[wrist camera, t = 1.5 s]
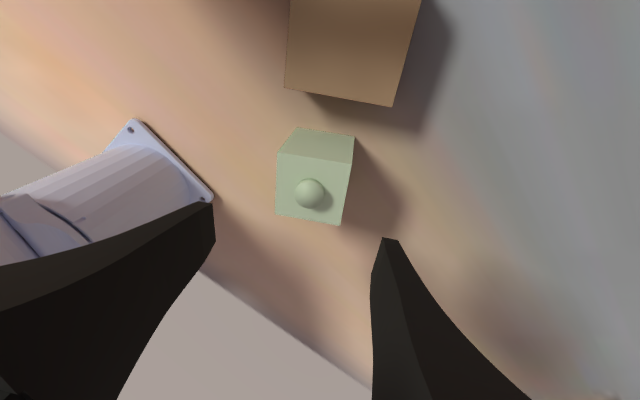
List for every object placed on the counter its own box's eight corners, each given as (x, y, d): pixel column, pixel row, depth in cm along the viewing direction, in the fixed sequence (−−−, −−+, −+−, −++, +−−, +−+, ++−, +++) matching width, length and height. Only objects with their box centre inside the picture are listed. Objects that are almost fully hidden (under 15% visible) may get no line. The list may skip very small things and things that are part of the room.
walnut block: (387, 97, 17) (392, 107, 15) (295, 81, 18) (283, 87, 15) (419, -22, 14) (431, -36, 12) (307, -40, 15) (294, -58, 12)
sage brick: (345, 187, 21) (339, 231, 16) (293, 178, 21) (272, 219, 16) (354, 136, 19) (351, 169, 14) (297, 126, 19) (274, 156, 14)
